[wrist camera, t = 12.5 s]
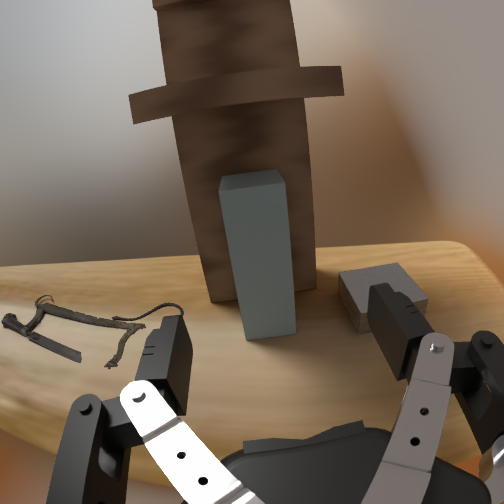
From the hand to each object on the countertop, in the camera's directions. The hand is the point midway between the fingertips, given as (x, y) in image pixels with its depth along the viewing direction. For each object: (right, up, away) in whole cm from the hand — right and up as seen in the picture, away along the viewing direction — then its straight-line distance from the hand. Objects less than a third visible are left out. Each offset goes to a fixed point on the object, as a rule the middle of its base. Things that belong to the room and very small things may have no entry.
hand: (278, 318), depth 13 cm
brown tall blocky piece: (0, -3, +14) cm, 14 cm away
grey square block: (+10, -2, +12) cm, 16 cm away
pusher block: (0, -3, +13) cm, 13 cm away
